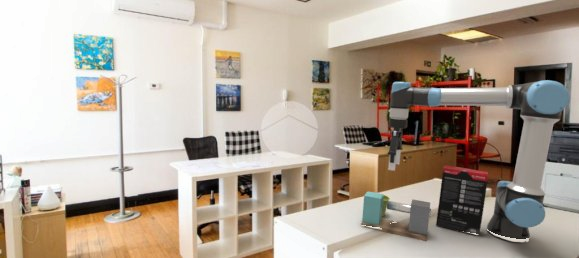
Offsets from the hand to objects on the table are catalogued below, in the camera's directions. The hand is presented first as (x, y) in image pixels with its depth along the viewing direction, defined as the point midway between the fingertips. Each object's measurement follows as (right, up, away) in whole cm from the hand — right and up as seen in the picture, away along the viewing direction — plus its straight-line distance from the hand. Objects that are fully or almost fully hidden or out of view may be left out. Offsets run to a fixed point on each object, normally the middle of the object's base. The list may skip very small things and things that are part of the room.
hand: (394, 167), depth 138 cm
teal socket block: (-9, -24, +2) cm, 26 cm away
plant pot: (-3, -24, +13) cm, 28 cm away
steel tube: (+4, -19, -5) cm, 20 cm away
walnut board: (-1, -26, -2) cm, 26 cm away
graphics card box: (+28, -28, +1) cm, 39 cm away
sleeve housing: (+8, -26, -6) cm, 28 cm away
